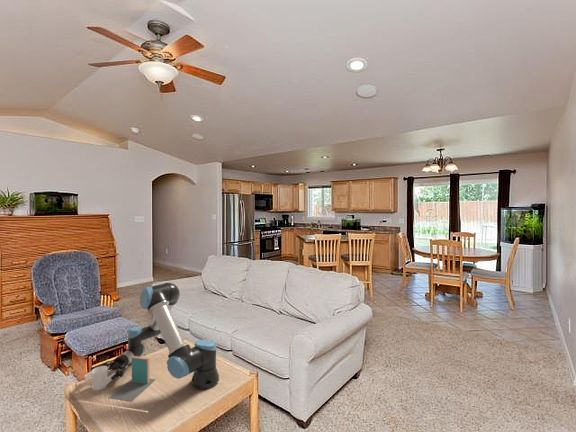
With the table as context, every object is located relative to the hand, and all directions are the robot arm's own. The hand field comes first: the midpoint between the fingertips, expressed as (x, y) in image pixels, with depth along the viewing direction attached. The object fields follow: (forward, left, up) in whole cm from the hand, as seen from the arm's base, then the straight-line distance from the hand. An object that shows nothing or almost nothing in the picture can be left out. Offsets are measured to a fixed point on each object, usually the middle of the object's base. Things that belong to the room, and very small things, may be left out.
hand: (95, 380), depth 163 cm
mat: (-18, -7, -6) cm, 21 cm away
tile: (-18, -13, -5) cm, 23 cm away
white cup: (0, -3, -6) cm, 7 cm away
